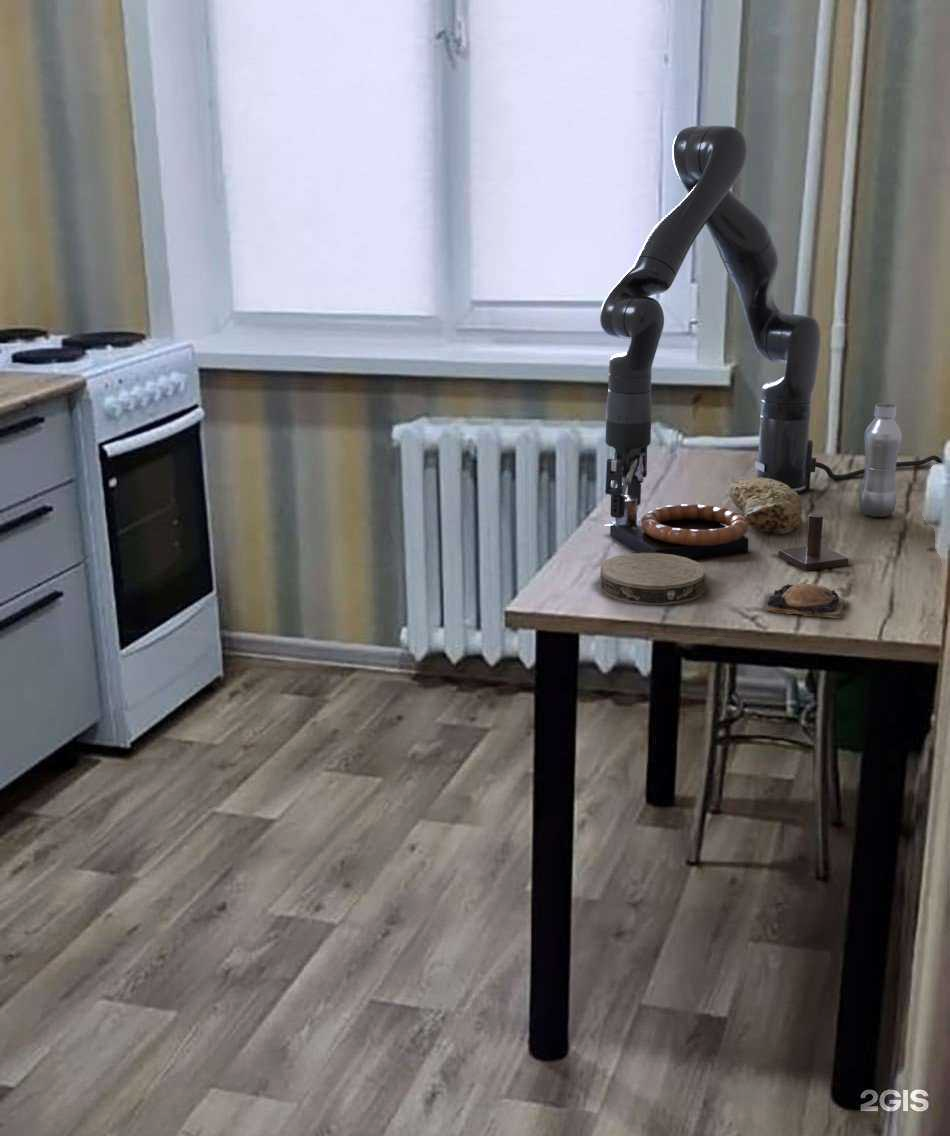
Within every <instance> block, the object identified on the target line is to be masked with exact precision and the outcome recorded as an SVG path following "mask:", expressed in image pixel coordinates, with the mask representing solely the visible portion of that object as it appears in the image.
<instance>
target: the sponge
mask: <svg viewBox="0 0 950 1136" xmlns="http://www.w3.org/2000/svg"><path fill="white" fill-rule="evenodd" d="M729 497H730V499H731V501H732V503H733V504H734V506H736V507H737V508H738V509H739V510H740V511H741V512H743V517H744V518H745V520H746V522H747V524H748V526H751V529H753V530H756V531H761V532H770V533H772V531H773V532H774V533H777V534H778V535H787V534H788V533H791V532H792V531H793V530H794V529H796V528H797V526H798V525H799V523H800V522H801V519H802V513H803V507H804V505H803V498H802V497H801V496H800V494H799V493H797V492H795V491H793V490H791V488H790V487H789V486H788V485H786V484H784V483H782V482H779V481H776V480H772V479H768V478H757V477H753V478H748V479H747V478H746V479H739V480H736V481H735V482H733V483H732V484H731V486H730V489H729Z"/></svg>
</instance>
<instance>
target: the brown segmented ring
mask: <svg viewBox="0 0 950 1136" xmlns="http://www.w3.org/2000/svg"><path fill="white" fill-rule="evenodd" d="M641 518H642V519H641V525H642V529H643V531H644V532H645V533H646V534H647V535H649V536H651V537H652V538H654V539H656V540H660V541H664V542H667V543H671V544H679V545H687V546H712V545H720V544H727V543H730V542H733V541H736V540H739V539H740V538H742V536H745V534H746V533H747V532H748V531H749V524H748V523H747V522H746V520H745V518H744V515H742V514H740V513H737V512H736V511H734V510H732V509H729V508H724V507H720V506H715V505H708V504H707V505H706V504H687V503H686V504H673V505H664V506H660V507H657V508H654V509H651V510H649V511H648V512H646V513H645V514H644V515H643V516H642V517H641ZM674 520H704V521H713V522H717V523H720V524H722V525H724V526H726V527H724V528H719V529H710V530H688V529H680V528H673V527H669V526H666V525H662V524H660V523H663V522H666V521H674Z"/></svg>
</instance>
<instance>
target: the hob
mask: <svg viewBox="0 0 950 1136" xmlns="http://www.w3.org/2000/svg"><path fill="white" fill-rule="evenodd" d="M641 519H642V517H640V518H637V523H636V525H633V526H620V525H617V524H616V523H615V520H614V521H610V523H609V524H604V527H609V536H610V537H612V538H613V539H615V540H616V541H618V542H619V543H621V544H622V545H624V546H626V547H627V548H628V549H630V550H632V551H633V552H635V553H662V554H671V555H677V556H681V557H686V558H689V559H691V560H694V561H696V560H703V559H710V558H711V559H712V558H718V557H727V556H733V555H742V554H748V553H749V537H747V536H745V535H743V536H742V538H740V539H739V540H736V541H733V542H730V543H727V544H720V545H712V546H687V545H679V544H671V543H667V542H664V541H660V540H656V539H654V538H652V537H651V536H649V535H647V534H646V533H645V532H644V531H643V529H642V525H641ZM660 524H662V525H666V526H669V527H673V528H680V529H688V530H710V529H719V528H724V527H727V525H725V524H721V523H717V522H713V521H704V520H674V521H666V522H663V523H660Z"/></svg>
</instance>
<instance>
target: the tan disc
mask: <svg viewBox="0 0 950 1136" xmlns="http://www.w3.org/2000/svg"><path fill="white" fill-rule="evenodd" d="M599 576H600V579H599V582H600V583H599V587H600V588H599V589H600V591H602V592H603V594H605V596H608V597H611V598H612V599H614V600H617V601H621V602H626V603H630V604H637V605H645V606H669V605H677V604H683V603H687V602H691V601H694V600H696V599H698V598H700V597H701V596H702V595H703V594H704V592H705V583H706V570H705V567H704V565H702V564H701V563H700V562H698V561H696V560H691V559H689V558H686V557H681V556H677V555H671V554H662V553H637V552H635V553H626V554H621V555H616V556H613V557H611V558H608V559H606V560H604V561H603V562H602V563H601V564H600V575H599Z"/></svg>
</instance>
